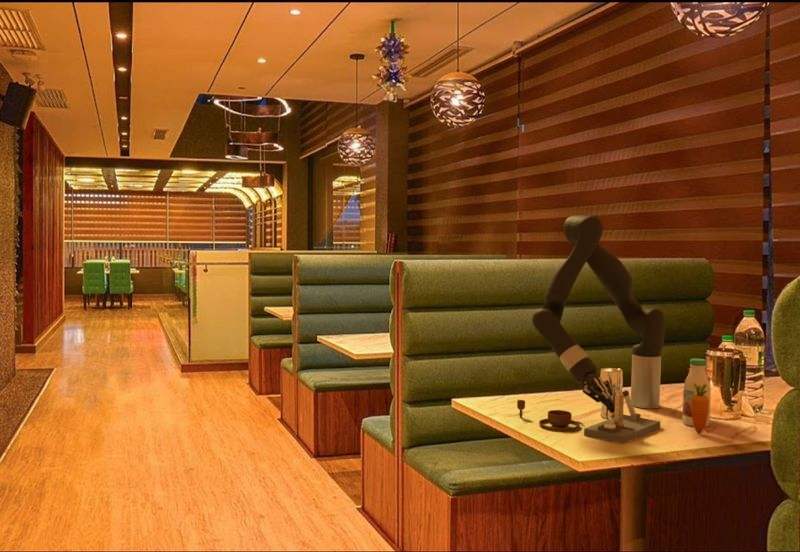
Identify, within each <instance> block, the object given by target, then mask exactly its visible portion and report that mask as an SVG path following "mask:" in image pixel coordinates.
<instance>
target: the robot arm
mask: <svg viewBox="0 0 800 552" xmlns="http://www.w3.org/2000/svg"><path fill="white" fill-rule="evenodd" d="M603 231H604V225H603V222H602V220H601V219H600V218H599V217H597V216H594V215H584V214H583V215H582V214H581V215H580V214H578V215H577V214H575V215H571V216H569V217H567V218H566V219H565V221H564V223H563V234H564V236H565V238H566V240H567V241H568V243H569V244H570V245H571V246H572V247H573V250H572V251H571V253H570V254H569V255H568V257H567V258H566V260H565V261H564V262H563V263H561V265H560V266H559V267H558V268H557V270H556V271H554V273H553V275H552V276H551V279H550V281H549V283H548V285H547V288H546V291H545V293H544V297H543V299H544V302H543V305H542V308H540V309H537V310H536V311H535V312H534V313H533V314H532V318H531V322H532V325H533V327H534V329H535V330H536V331H537V332H538V334H540V335H541V336H542V338H543V339H544V340H545V341H546V342H547V343H548V345H549V346H550V348H551V349H552V351H553V352H554V353H555V355H556V357H558V359H559V360H560V361H561V363H562V365H563V366H564V368H565V369H566V370H567V372H568V373H569V375H570V376H571V377H572V379H573V380H574V381H575V382H576V383H577V384H581V385H583V387H584V388H583V389H582V393H583V394H585V395H587V397H589V398H590V399H592V400H593V401H595V402H596V403H600V404H602V403H603V404H604V405H605V406H606V407H607V409H608V410H609V411H610V413H614V412H615V403H614V402H613V400H612V399H611V396H612V395H613V393H612V390H611V386H610V383H609V381H608V380H606V381H603V380H602V379H601V377H600V375H599V374H598V373H597V371H598V366H597V365H596V364H595V362H594V361H593V359H591V357H590V356H589V355H588V353H587V352H586V351H585V350H584V349H583V348H582V347H581V346H580V345H579V344H578V342H576V340H575V339H574V337H572V335H571V334H570V333H569V332H568V331H566V329H565V328H564V326H563V325H562V324H561V321H562V318H563V314H564V309H565V305H566V303H567V301H568V300H569V296H570V294H571V292H572V290H573V287H574V285H575V283H576V281H577V279H578V278H579V277H578V276H579V275H580V273H581V271H582V270H583V268H584V266H585V264H587V265H588V266H589V268H590V269H591V271H592V272H593V274H594V275H595V277H596V278H597V279H598V281H599V282H600V284H601V285H602V287H603V288H604V289H605V291H606V292H607V293H608V295H609V296H610V298H611V299H612V301H613V302H614V303H615V305H616V306H617V308H618V309H619V311H620V313H621V315H622V317H623V319H624V321H625V322H626V324H627V326H628V327H629V329H630V330H631V331H632V332H634V333H636V334H638V335H643V337H642V338H643V339H642V341H641V342H640V343H637V344H634V345H633V346H632V348H631V349H632V350H631V351H632V353H631V380H630V382H631V385H630V386H631V387H630V399H631V402H632V404H633V407H634V408H635V407H636V408H642V409H656V408H657V409H658V408H660V402H661V401H660V398H661V372H662V371H661V370H662V367H661V366H662V365H661V364H662V352H663V351H662V350H663V349H664V348H663V347H664V345H665V344H664V343H665V333H666V317H665V313H664V312H663V311H662V310H661V309H660V308H655V307H648V306H643V305H642V304H640V303H639V301H638V300H637V299H636V297H635V296H634V294H633V293H634V292H633V288H634V287H633V286H634V284H633V278H632V275H631V273H630V271H628V269H627V268H626V266H625V264H623V262H622V261H621V260H620V259H619V258H618V257H617V256H616V255H614V254H612V253H611V252H610V251H608V250H607V249H606V248H605V247H603V245H601V244H600V243H599V242H600V240H601V238H602V235H603Z"/></svg>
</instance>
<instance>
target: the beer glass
mask: <svg viewBox="0 0 800 552" xmlns="http://www.w3.org/2000/svg"><path fill="white" fill-rule="evenodd" d="M623 373H624V372H623V369H621V368H615V367H603V368H600V375H599V376H600V377H601V379H602V380H603V381H606V380H608V381H609V383H610V386H611V390H612V393H613V395H612V396H611V399H612V400H613V402H614V403H615V395H617V394H622V392H623V387H624V386H623V385H624V376H623V375H624V374H623ZM600 417H601V418H602V417H604V418H603V419H606V418H614V417H615V412H614V413H610V411H609V410H608V409H607V407H606V406H605V405H604V404H603V403H601V409H600Z"/></svg>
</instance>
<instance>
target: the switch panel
mask: <svg viewBox="0 0 800 552" xmlns="http://www.w3.org/2000/svg"><path fill="white" fill-rule="evenodd" d="M636 415H637V416H635V415H630V414H629V415H628V414H623V423H624V426H622V427H621V426H616V428H614V429H610V428H605V427H604V424H607V423H609V424H613V423H614V418H611V419H606V420H604V421H601V422H598V423H596V424H592V425H589V426H588V427H584V429H583V431H584V432H583V436H585V437H591V438H595V439H599V438H600V439H599V440H603V439H605V440H604V441H608V440H610V442H613V441H614V443H618V442H619V443H618V444H623V445H624V444H627V443H629V442H631V441H634V440H635V438H636V439H638V438H640V437H642V435H643V436H645V435H647V434H650V433H651V431H652V432H654V431H656V429H657V430H659V429H661V420H657V419H650V418H644V417H641V416H642V415H641V413H637V412H636ZM649 432H650V433H649ZM633 439H634V440H633ZM630 440H631V441H630ZM628 441H629V442H628Z"/></svg>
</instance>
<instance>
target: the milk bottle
mask: <svg viewBox="0 0 800 552" xmlns="http://www.w3.org/2000/svg"><path fill="white" fill-rule="evenodd" d="M689 366H690V370H689V372H688V375H687V376H686V378H685V380H684V385H683V394H682V395H683V396H682V397H683V398H682V424H684V425H686V426H689V427H694V424H693V420H692V413H691V398H692V396H693V395H697V391H696V389H695V386H694V384H696V385H697V386H698V385H700V389H701V387H702V385H703V384H704V383H705V384H706V385H707V386H706V388H705V389H704V391H705V390H707V392H706V393H705V394H703V395H705V396H707V397H708V399H709V408H708V417H707V421H706V425H705V427H704V428H706V427H709V426H710V423H711V422H710V421H711V396H712V395H711V393H712V392H711V391H712V390H711V389H712V388H711V384H710V380H709V378H708V375H707V372H706V368H707V359H704V358H696V357H694V358H690V360H689ZM700 389H699V392H700Z"/></svg>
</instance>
